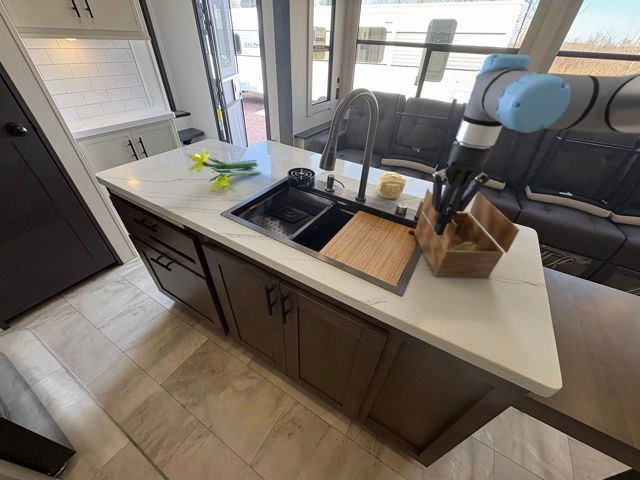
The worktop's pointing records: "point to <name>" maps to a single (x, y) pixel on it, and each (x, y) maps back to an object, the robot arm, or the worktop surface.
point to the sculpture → (390, 185)
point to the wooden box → (468, 232)
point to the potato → (467, 247)
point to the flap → (430, 215)
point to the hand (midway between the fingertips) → (437, 232)
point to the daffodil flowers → (222, 165)
